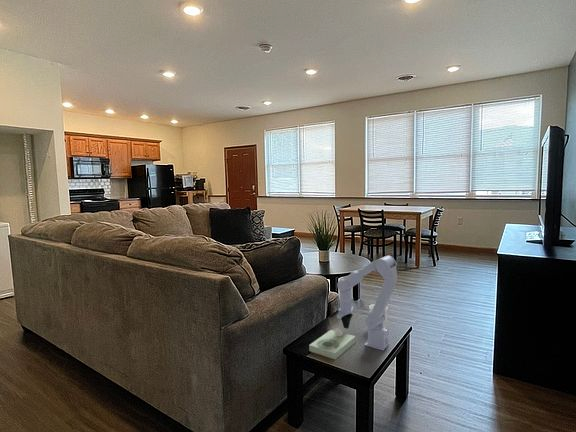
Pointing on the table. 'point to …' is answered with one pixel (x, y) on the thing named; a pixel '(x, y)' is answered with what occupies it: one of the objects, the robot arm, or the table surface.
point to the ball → (338, 332)
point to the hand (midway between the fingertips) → (346, 327)
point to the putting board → (332, 344)
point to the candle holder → (385, 314)
